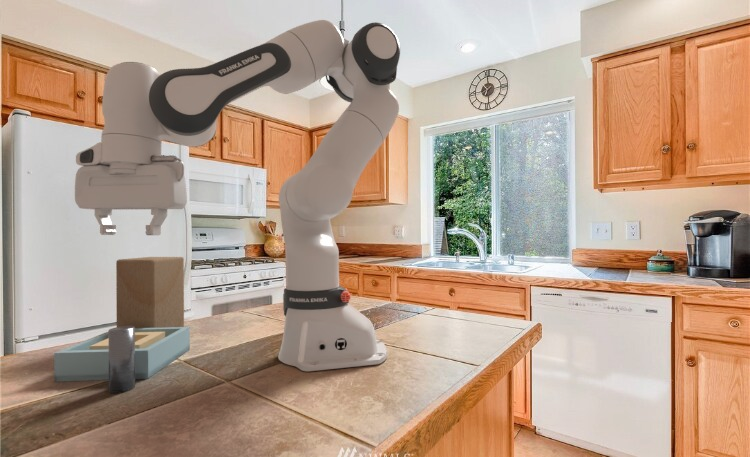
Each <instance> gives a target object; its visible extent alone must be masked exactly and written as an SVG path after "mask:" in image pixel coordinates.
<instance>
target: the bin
mask: <svg viewBox="0 0 750 457" xmlns="http://www.w3.org/2000/svg"><path fill="white" fill-rule="evenodd" d="M190 329H191V328H190V326H184V327H166V328H135V380H144V379H145V380H146V379H150V378H151V377H152V376H155V374H157V373H158V372H160V371H162V370H163V369H164V368H165V367H167V366H169V364H171V363H173V362H174V361H175V360H177V359H178V358H180V357H181V356H183V355H184V354H185V353H187V352H188V351H190V350H191V349H190V348H191V347H190V345H191V344H190V343H191V340H190V338H191V336H190V334H191V333H190V331H191V330H190ZM53 354H54V355H53V364H54V365H53V368H54V369H53V374H54V375H53V380H54V381H53V382H54V383H55V382H83V381H86V382H88V381H107V380H108V381H109V333H108V331H106V332H103V333H101V334H99V335H96V336H93V337H91V338H88V339H85V340H83V341H81V342H78V343H77V344H73V345H72V346H68V347H66V348H63V349H60V350H57V351H55V352H54V353H53Z"/></svg>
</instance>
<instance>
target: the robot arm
mask: <svg viewBox="0 0 750 457" xmlns="http://www.w3.org/2000/svg"><path fill="white" fill-rule="evenodd" d="M400 56H401V45H400V41H399V37H398V36H397V35H396V33H395V32H394V30H392V28H390V27H389V26H388V25H386V24H384V23H381V22H371V23H370V22H369V23H367V24H365V25H364V26H363V27H361V28H360V29H359V30H358V31H357V32H356V33H355V34H353V37H352V39H351V41H350V40H348V39H345V38H344V37H343V34H342V33H341V31H340V29H339V28H338V27H337V26H336V25H335V24H334V23H333V22H331V21H329V20H326V19H318V20H314V21H310V22H306V23H303V24H300V25H298V26H295V27H292V28H290V29H288V30H286V31H285V32H283V33H281V34H279V35H276V36H275V37H273V38H271V39H269V40H267V41H266V42H264V43H261V44H260V45H256V46H254V47H252V48H251V47H250V48H249V49H246V50H243V51H242V52H239V53H236V54H234V55H231V56H229V57H227V58H225V59H222V60H220V61H218V62H215V63H212V64H209V65H207V66H204V67H203V66H202V67H194V68H178V69H172V70H171V69H170V70H167V71H165V72H163V73H162V74H161V73H160V72H159V71H158V69H156V68H155V67H153V66H151V65H149V64H146V63H143V62H136V61H135V62H134V61H124V62H120V63H116V64H114V65H112V66H111V67H110V68H109V69H108V71H107V73H106V76H105V79H104V84H103V90H102V91H103V92H102V104H101V105H102V106H101V110H102V115H103V120H104V125H103V129H102V132H101V137H100V138H101V139H100V140H101V141H100V142H97V143H96V144H94V145H92V146H90V147H89V148H86V149H84V150H82V151H79V152H77V153H76V155H75V163H76V165H78V166H80V167H79V168H78V169H77V171H76V174H75V180H74V201H75V204H76V205H77V206H78V208H79V209H84V210H94V217H95V219H96V221H97V222H98V225H99V233H100V235H101V236H107V235H108V236H115V235H116V233H117V231H116V230H117V225H115V224H113V223H112V220H111V218H110V217H112V214H113V210H150V215H152V219H151V221H150V223H149V224H145V235H146V236H160V235H161V233H162V232H161V231H162V225H163V224H164V222H165V220H166V218H167V217H168V210H182V209H184V208H185V206H186V205H187V202H188V192H187V184H186V178H185V164H184V162H183V161H182V160H181V159H180V158H178V157H177V156H176V155H162V141H166V142H169V143H172V144H177V145H181V146H184V147H192V148H193V147H194V148H195V147H196V148H197V147H201V146H204V145H207V144H208V143H209V142H210V141H212V140H213V138H214V136H215V134H216V132H217V125H218V124H217V123H218V118H219V116H220V113H221V112H222V111H223V110H224V108H225V107H227V105H229V104H231V103H234V102H235V101H237V100H239V99H241V98H243V97H245V96H247V95H249V94H251V93H253V92H255V91H257V90H259V89H262V88H263V87H270V88H271V89H272V90H273V91H275V92H278V93H279V94H282V95H289V94H292V93H295V92H299V91H300V90H302V89H305V88H307V87H309V86H311V85H312V84H314V83H315V82H317V81H318V80H320V79H322V78H324V77H325V79H326V82H327V83H328V84H329V85H330V87H332V89H333V91H334V92H335V94H337V96H338V97H339V98H341V99H342V100H344V101H345V102H348V103H350V104H349V105H348V106H347V107H346V108H345V110H344V111H343V112H342V113H341V115H340V116H339V117H338V119H337V120H336V121H335V122H334V124H333V125H332V126H331V127H330V129H329V130H328V131H327V132H326V134H325V135H324V136H323V138H322V139H321V141H320V143H319V145H318V146H317V148H316V149H315V151H314V152H313V154H312V156H310V158H309V159H308V161H307V163H306V164H305V165H304V166H303V167H302V168H301V169H300V170H299V171H297V172H296V173H295V174H293V175H291V176H290V177H288V178H287V179H286V180H284V182H282V185H281V187H280V189H279V193H278V204H279V210H280V219H281V220H280V221H281V228H282V235H283V240H284V241H283V242H284V248H285V249H284V250H285V251H284V252H285V288H284V289H283V294H282V304H283V305H282V308H283V310H282V311H283V315H284V326H283V334H282V339H281V346H280V349H279V353H278V356H277V358H278V360H279V361H280V362H281V363H284V364H285V365H288V366H293V367H296V368H297V369H299V370H301V371H302V372H315V371H326V370H334V369H344V368H353V367H354V368H355V367H363V366H374V365H380V364H382V363H384V362H385V360H386V359H387V357H388V351H387V350H388V348H387V346H386V344H385V343H384V342H383V341H382V340H379V339H377V333H376V330H375V328H374V324H373V322H372V321H371V319H369V318H368V317H367V316H365V315H364V314H362V313H361V312H360V311H359V310H358V309H356V308H355V307H353V306H352V305H351V304H350V303H349V302H350V300H351V296H352V295H351V292H349V290H348V288H345V287H343V286H341V285H340V255H339V254H340V251H339V250H340V249H339V247H338V245H337V243H336V239H335V236H334V232H333V228H332V223H331V219H333V218H335V217H338V216H339V215H340V214H341V213H343V212H344V211H345V210H346V209H347V208H348V207H349V205H350V203H351V201H352V199H353V194H354V190H355V188H356V186H357V185H358V181H359V180H360V177H361V175H362V173H363V172H364V169H365V168H366V167H367V165H368V164H369V162H370V161H371V160H372V158H373V157H374V156H375V154H376V153H377V151H378V150H379V148H380V147H381V146H382V145H383V142H384V141H385V140H386V139H387V137H388V135H390V132H391V130H392V128H393V126H394V124H395V123H396V120H397V118H398V115H399V112H400V111H399V110H400V106H399V101H398V99H397V97H396V96H395V94H394V93H393V92H392V91H391V90H390V84H392V83H394V82H395V81H396V79H397V72H398V64H399V60H400Z"/></svg>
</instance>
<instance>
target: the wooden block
mask: <svg viewBox="0 0 750 457" xmlns="http://www.w3.org/2000/svg"><path fill="white" fill-rule="evenodd" d="M184 262H185V261H184V257H182V256H146V257H145V256H143V257H134V258H133V257H132V258H122V259H121V258H120V259H117V260H116V261H115V263H116V266H115V267H116V268H115V269H116V272H115V273H116V276H115V277H116V283H115V285H116V288H115V289H116V291H115V292H116V298H115V299H116V327H121V326H134V327H135V328H166V327H185V292H184V290H185V281H184V280H185V276H184V275H185V274H184V272H185V271H184V270H185V269H184V268H185V266H184V264H185V263H184Z"/></svg>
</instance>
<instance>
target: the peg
mask: <svg viewBox="0 0 750 457" xmlns="http://www.w3.org/2000/svg"><path fill="white" fill-rule="evenodd" d="M107 332H108V333H109V380H108V394H111V395H112V394H113V395H116V394H118V395H119V394H123V393H126V392H129V391H131V390H134V388H135V387H136V379H135V327H134V326H121V327H117V326H115V327H113V328H112V327H111V328H110V329H108V331H107Z"/></svg>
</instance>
